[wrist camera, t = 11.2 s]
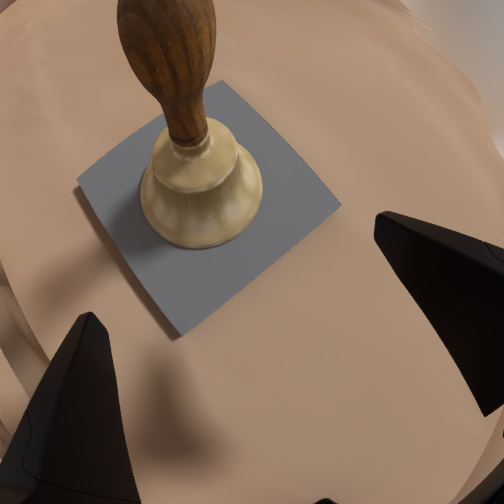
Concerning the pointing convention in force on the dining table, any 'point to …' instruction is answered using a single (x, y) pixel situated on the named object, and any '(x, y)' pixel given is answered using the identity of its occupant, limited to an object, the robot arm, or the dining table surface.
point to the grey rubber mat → (222, 256)
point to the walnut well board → (18, 348)
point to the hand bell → (187, 127)
